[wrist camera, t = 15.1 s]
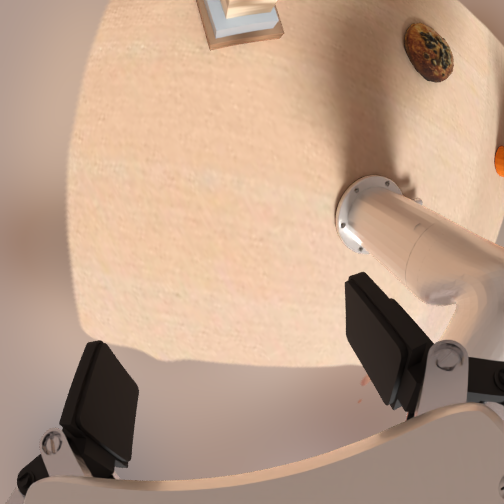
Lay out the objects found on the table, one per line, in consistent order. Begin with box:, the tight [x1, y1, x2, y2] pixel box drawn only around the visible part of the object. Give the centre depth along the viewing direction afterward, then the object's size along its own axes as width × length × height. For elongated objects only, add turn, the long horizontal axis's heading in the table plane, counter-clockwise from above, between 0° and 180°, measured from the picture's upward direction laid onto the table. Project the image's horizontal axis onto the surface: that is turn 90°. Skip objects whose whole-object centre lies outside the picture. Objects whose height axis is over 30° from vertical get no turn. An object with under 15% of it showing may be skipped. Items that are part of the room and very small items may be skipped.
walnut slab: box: [196, 0, 284, 50], centre depth 25 cm, size 9×9×3 cm
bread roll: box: [404, 23, 454, 82], centre depth 28 cm, size 11×11×5 cm
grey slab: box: [204, 0, 279, 39], centre depth 22 cm, size 7×7×3 cm
